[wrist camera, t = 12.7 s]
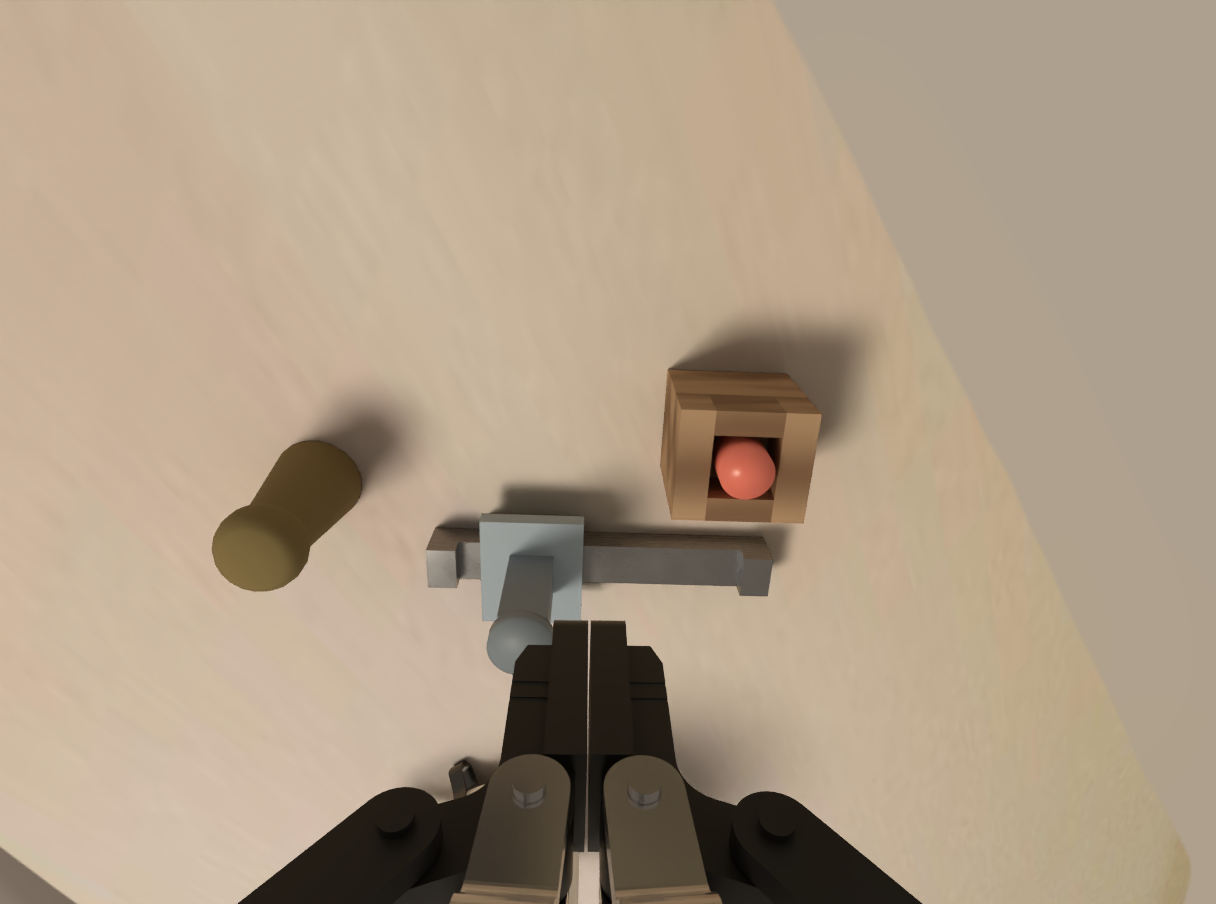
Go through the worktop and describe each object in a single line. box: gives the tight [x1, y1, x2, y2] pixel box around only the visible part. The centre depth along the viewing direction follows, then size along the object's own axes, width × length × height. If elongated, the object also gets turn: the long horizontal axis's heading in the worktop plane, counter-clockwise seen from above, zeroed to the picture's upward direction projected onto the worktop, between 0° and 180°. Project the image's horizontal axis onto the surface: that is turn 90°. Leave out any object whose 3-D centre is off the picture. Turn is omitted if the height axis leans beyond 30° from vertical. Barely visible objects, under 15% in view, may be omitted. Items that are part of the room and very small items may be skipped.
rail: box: [426, 528, 773, 596], centre depth 51 cm, size 3×24×3 cm, turn 87°
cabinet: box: [660, 370, 822, 523], centre depth 45 cm, size 7×8×8 cm
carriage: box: [479, 513, 584, 675], centre depth 47 cm, size 8×7×11 cm
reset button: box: [712, 436, 775, 500], centre depth 42 cm, size 3×3×3 cm
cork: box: [212, 441, 362, 591], centre depth 45 cm, size 6×6×11 cm
